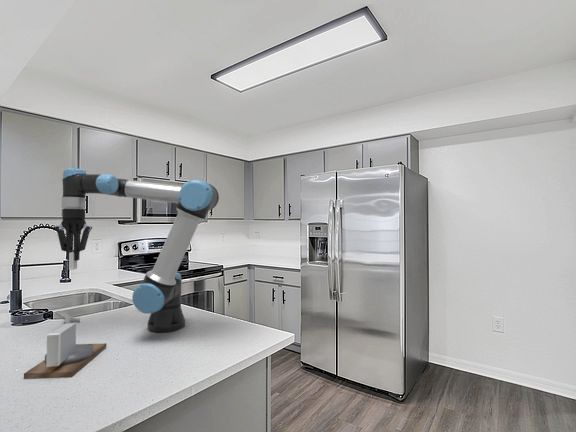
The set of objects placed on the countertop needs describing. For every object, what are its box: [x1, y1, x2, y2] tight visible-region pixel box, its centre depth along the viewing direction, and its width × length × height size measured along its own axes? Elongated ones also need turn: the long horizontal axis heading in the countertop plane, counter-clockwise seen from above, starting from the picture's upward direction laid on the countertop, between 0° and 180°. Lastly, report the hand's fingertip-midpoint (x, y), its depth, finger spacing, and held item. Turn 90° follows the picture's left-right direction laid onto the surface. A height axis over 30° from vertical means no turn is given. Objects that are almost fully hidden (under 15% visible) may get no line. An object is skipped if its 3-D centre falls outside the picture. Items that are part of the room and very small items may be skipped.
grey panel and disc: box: [44, 322, 93, 367], centre depth 104 cm, size 17×13×11 cm
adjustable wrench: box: [55, 310, 81, 325], centre depth 151 cm, size 25×6×2 cm, turn 43°
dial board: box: [23, 343, 107, 380], centre depth 105 cm, size 13×22×2 cm, turn 5°
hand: (73, 268), depth 128 cm, fingers closed
